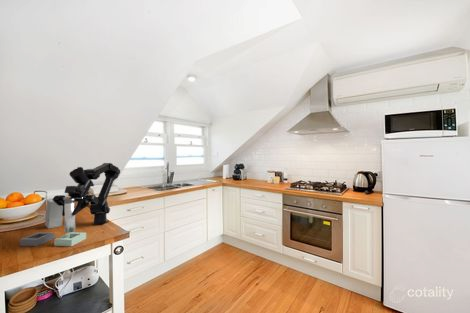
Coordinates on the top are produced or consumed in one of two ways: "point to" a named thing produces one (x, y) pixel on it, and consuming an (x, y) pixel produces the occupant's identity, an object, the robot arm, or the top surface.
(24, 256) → the top surface
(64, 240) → the sage socket
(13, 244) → the top surface
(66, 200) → the steel peg
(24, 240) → the charcoal socket
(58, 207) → the skincare box
